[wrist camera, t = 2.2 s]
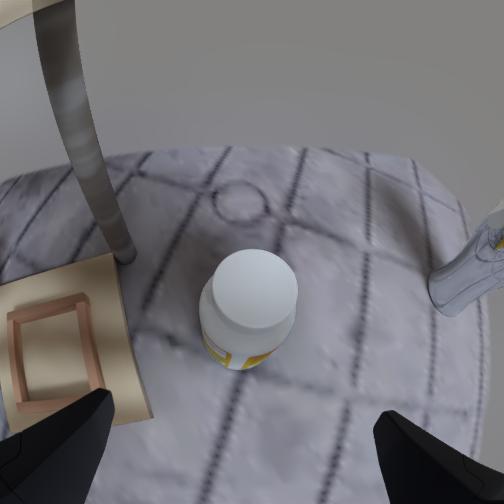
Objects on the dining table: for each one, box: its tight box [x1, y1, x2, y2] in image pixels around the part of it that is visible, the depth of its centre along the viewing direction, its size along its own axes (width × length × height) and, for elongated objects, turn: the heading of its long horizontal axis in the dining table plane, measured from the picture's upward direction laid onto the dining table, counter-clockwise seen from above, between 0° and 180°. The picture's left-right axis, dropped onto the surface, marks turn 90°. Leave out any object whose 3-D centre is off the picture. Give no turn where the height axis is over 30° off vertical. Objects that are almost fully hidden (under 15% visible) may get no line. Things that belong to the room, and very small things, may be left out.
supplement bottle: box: [199, 249, 298, 370], centre depth 17 cm, size 5×5×10 cm
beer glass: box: [428, 199, 504, 317], centre depth 19 cm, size 7×7×15 cm
